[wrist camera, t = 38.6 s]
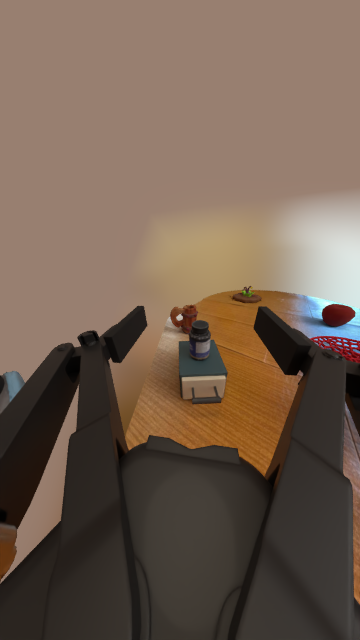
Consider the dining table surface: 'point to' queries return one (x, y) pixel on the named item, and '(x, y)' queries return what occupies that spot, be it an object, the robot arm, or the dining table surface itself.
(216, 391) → the drawer
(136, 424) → the dining table surface
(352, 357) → the bowl
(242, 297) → the plant
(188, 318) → the mug
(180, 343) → the cabinet
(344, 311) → the apple
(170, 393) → the dining table surface
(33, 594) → the robot arm
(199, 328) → the pill bottle
